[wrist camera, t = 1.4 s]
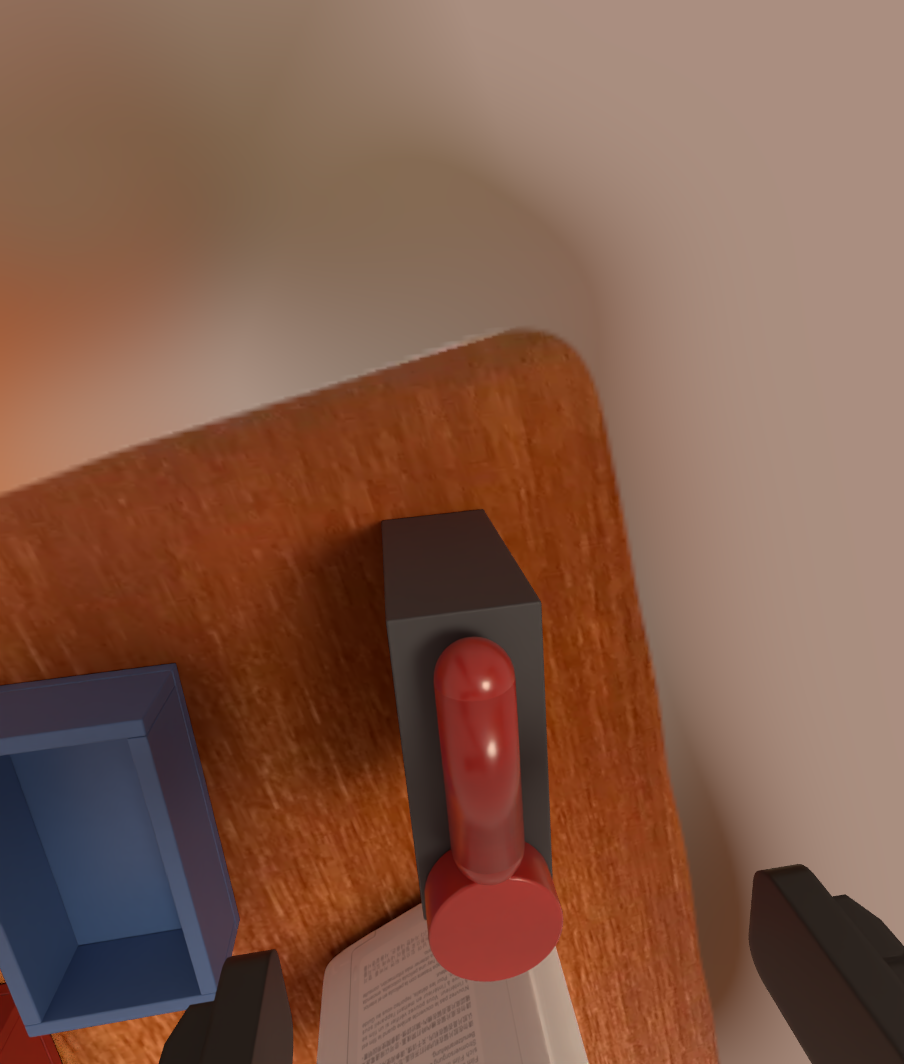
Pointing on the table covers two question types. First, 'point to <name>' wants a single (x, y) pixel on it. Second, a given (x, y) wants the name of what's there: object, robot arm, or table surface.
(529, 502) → the table surface
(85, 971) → the blue bin
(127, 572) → the table surface
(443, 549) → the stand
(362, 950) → the photo printer
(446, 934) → the red spoon
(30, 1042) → the red bin
